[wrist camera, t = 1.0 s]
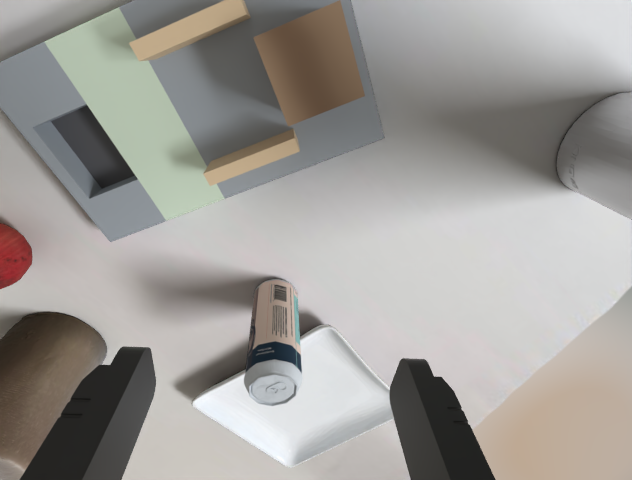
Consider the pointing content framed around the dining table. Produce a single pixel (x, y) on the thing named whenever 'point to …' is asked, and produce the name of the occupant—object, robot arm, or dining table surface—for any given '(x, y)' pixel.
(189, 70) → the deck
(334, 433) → the salad plate
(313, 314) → the dining table surface
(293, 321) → the beer can
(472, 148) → the dining table surface
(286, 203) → the dining table surface
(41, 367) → the pillar candle
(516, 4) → the dining table surface
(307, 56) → the block
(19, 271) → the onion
